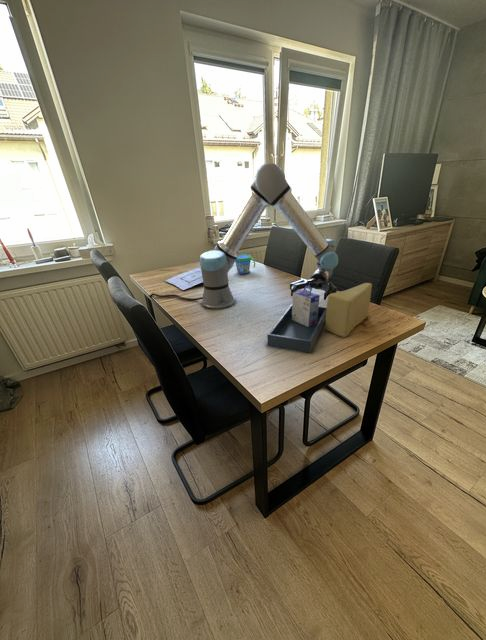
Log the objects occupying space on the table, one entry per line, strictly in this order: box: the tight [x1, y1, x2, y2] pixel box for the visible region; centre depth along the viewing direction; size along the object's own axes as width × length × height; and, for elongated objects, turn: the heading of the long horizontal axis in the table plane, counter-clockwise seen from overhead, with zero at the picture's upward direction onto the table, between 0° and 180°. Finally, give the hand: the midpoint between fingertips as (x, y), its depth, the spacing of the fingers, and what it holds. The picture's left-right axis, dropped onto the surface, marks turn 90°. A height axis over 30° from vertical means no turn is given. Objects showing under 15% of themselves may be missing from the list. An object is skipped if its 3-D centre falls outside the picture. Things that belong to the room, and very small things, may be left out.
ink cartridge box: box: [291, 286, 321, 327], centre depth 110 cm, size 10×6×14 cm, turn 40°
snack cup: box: [232, 254, 256, 275], centre depth 175 cm, size 16×10×10 cm
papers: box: [165, 266, 203, 291], centre depth 167 cm, size 24×30×4 cm
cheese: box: [324, 282, 373, 338], centre depth 107 cm, size 22×10×15 cm, turn 131°
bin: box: [266, 303, 327, 354], centre depth 108 cm, size 16×30×4 cm, turn 158°
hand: (308, 294), depth 112 cm, fingers open, 13 cm apart
